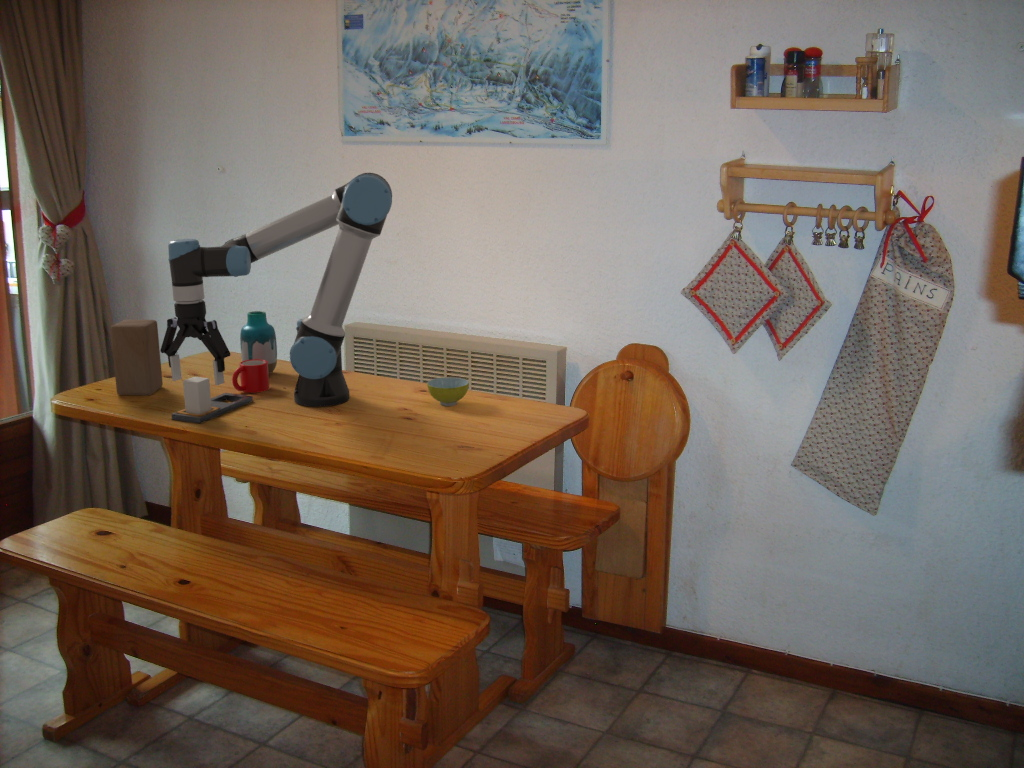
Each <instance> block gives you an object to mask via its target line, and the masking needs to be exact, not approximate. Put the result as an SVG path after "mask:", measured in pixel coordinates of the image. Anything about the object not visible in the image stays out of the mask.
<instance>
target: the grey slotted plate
mask: <svg viewBox="0 0 1024 768" xmlns="http://www.w3.org/2000/svg"><path fill="white" fill-rule="evenodd" d="M253 399H254V398H253V396H252V395H247V394H239V393H232V392H231V393H230V392H224V393H221V394H219V395H216V396H214V397H211V408H212V410H210V411H208V412H205V413H203V414H201V415H199V414H192V413H186V410H185V408H184V409H180V410H178V411H176V412H173V413H171V420H174V421H180V422H186V423H194V424H204V423H205V422H208V421H210V420H213V419H214V418H217V417H219V416H222V415H225V414H226V413H229V412H231V411H234V410H236V409H238V408H240V407H243V406H245V405H247V404H250V403H252V402H253V401H254V400H253ZM224 401H229V402H224Z"/></svg>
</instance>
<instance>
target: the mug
mask: <svg viewBox="0 0 1024 768" xmlns="http://www.w3.org/2000/svg"><path fill="white" fill-rule="evenodd" d="M238 365H239V367H237V368H236V369H235V370H234V372H233V374H232V378H231V381H232V385H233V387H234V389H235V390H237V391H238V392H242V393H243V392H244V393H263V392H266V391H268V390H269V389H270V376H269V374H270V373H268V362H267V361H266V360H261V359H252V360H245V361H242V360H241V362H239V364H238ZM239 375H240V376H239ZM239 377H240V378H239ZM238 378H239V379H240V384H239V382H238ZM262 391H263V392H262Z"/></svg>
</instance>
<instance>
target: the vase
mask: <svg viewBox="0 0 1024 768" xmlns="http://www.w3.org/2000/svg"><path fill="white" fill-rule="evenodd" d="M246 315H247V318H246V319H247V320H246V321H247V322H246V324H245V325H244V326H242V327H241V329H240V335H239V338H240V343H239V344H240V345H239V347H240V357H241V362H242V361H245V360H252V359H261V360H266V361H267V362H268V373H269V374H271V373H273V372H274V371H275V369H276V367H277V363H278V345H277V335H276V330H275V327H274V326H273V325H272V324H270V323H269V322H268V320H267V313H266V311H261V310H254V311H249V312H247V314H246Z"/></svg>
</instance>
